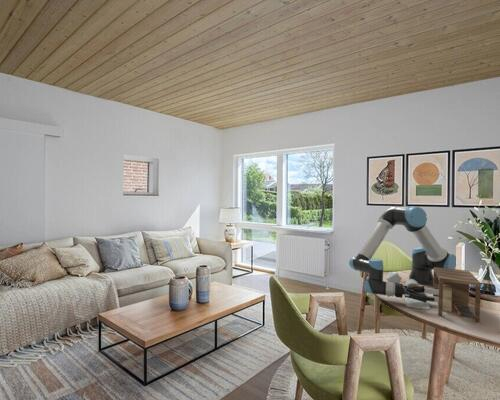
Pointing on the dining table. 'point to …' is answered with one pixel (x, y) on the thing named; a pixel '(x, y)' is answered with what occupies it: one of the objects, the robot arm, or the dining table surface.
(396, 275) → the grey rock
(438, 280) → the small wooden table
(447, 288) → the maple block
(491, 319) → the dining table surface
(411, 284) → the ceramic mug
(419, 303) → the pad
